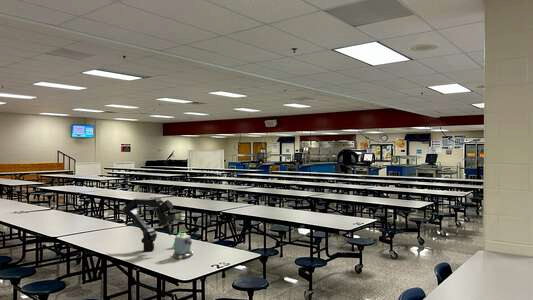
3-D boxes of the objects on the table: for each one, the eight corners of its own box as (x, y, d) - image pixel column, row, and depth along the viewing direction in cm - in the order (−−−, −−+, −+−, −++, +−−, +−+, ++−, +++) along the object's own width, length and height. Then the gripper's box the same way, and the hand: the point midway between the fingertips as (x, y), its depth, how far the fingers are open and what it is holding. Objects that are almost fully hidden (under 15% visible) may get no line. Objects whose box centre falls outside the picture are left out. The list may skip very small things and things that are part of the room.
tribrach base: (167, 257, 243) (167, 251, 243) (180, 252, 255) (180, 247, 255) (182, 260, 237) (182, 254, 237) (195, 255, 249) (195, 249, 249)
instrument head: (172, 253, 243) (173, 234, 242) (183, 249, 252) (184, 231, 252) (184, 256, 238) (185, 236, 238) (195, 252, 247) (195, 233, 247)
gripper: (168, 208, 248) (178, 229, 245) (175, 210, 266) (183, 230, 263) (153, 216, 247) (162, 237, 244) (160, 217, 265) (169, 237, 262)
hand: (170, 235), depth 253 cm, fingers closed
